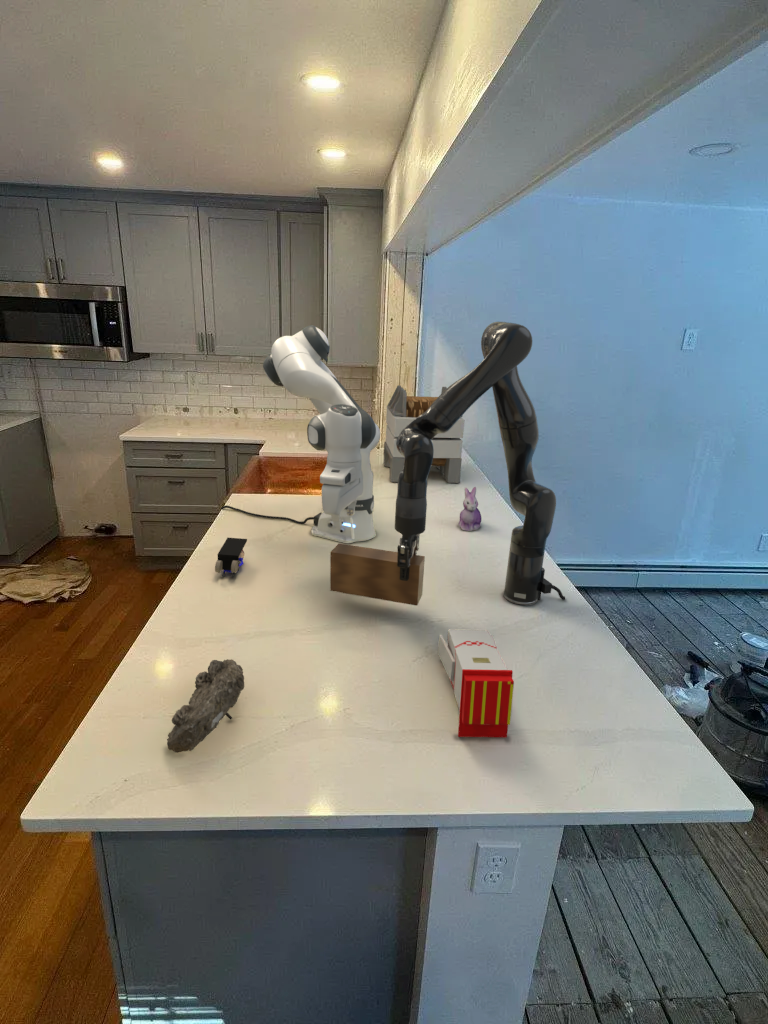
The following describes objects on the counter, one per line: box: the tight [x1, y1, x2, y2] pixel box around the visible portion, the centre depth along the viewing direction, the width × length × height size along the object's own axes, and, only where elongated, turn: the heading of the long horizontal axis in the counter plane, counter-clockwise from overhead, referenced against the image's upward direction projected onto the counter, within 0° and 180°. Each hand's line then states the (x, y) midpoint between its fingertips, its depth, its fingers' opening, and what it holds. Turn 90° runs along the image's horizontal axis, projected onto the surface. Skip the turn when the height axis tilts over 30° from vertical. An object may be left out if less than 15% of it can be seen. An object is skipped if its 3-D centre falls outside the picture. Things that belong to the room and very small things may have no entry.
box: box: [329, 542, 426, 606], centre depth 146 cm, size 23×6×11 cm, turn 74°
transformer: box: [383, 384, 465, 484], centre depth 268 cm, size 34×33×41 cm
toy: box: [437, 628, 515, 738], centre depth 117 cm, size 12×13×30 cm
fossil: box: [166, 658, 245, 754], centre depth 106 cm, size 22×10×15 cm
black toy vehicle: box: [214, 537, 248, 578], centre depth 166 cm, size 7×8×15 cm
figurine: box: [458, 486, 482, 532], centre depth 206 cm, size 9×10×15 cm
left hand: (344, 520), depth 150 cm, fingers open, 8 cm apart
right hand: (407, 574), depth 143 cm, fingers closed on box, 6 cm apart
